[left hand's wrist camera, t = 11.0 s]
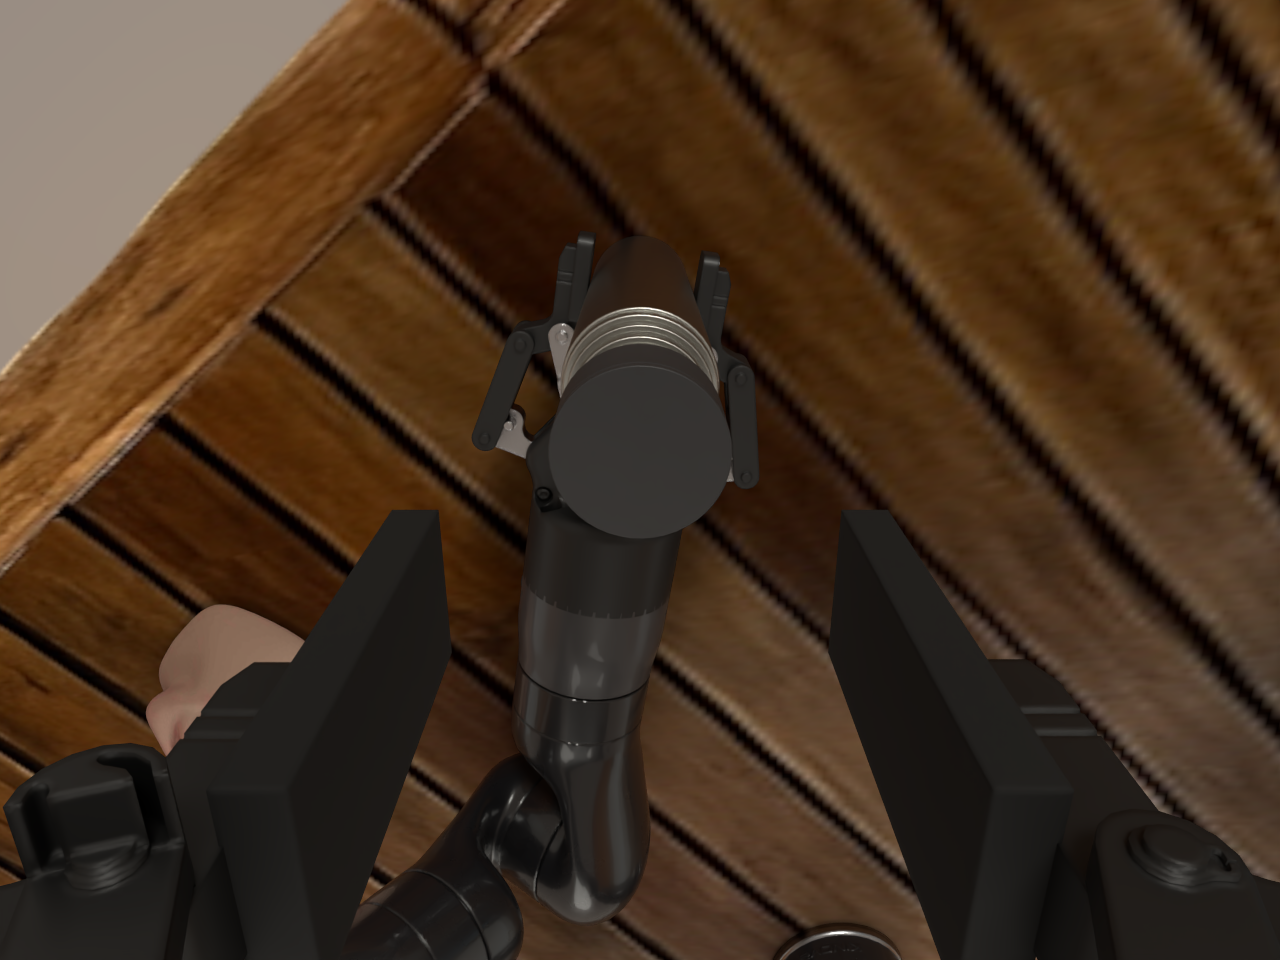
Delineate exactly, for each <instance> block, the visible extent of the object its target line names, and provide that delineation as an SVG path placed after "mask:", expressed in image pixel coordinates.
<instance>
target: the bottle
mask: <svg viewBox="0 0 1280 960" xmlns="http://www.w3.org/2000/svg"><path fill="white" fill-rule="evenodd" d="M631 344H650V345H656V346H661V347H665V348H668V349H671V350H673V351H676V352H678V353H680V354H682V355H684V356H685V357H687V358H688V359H690V360H691V361H693V362H694V363H695V364H696V365H697V366H699V367H700V368H701V369H702V371H703V372H704V373H705V374H706V375H707V376H708V378H709V379H710V380H711V382H712V383H713V385H714V387H715V389H716V391H717V393H718V395H719V387H720V380H719V371H718V366H717V362H716V359H715V356H714V353H713V350H712V347H711V344H710V341H709V339H708V336H707V333H706V330H705V327H704V324H703V321H702V318H701V315H700V312H699V309H698V306H697V303H696V301H695V298H694V295H693V292H692V289H691V286H690V283H689V280H688V277H687V274H686V271H685V268H684V265H683V263H682V261H681V259H680V258H679V256H678V255H677V253H676V252H675V251H674V250H673V249H672V248H671V247H670V246H668V245H667V244H666V243H664V242H662V241H660V240H658V239H656V238H653V237H648V236H632V237H627V238H624V239H622V240H620V241H618V242H616V243H614V244H613V245H612V246H610V247H609V248H608V249H607V250H606V251H605V252H604V254H603V255H602V256H601V258H600V259H599V261H598V263H597V266H596V268H595V271H594V274H593V277H592V280H591V283H590V286H589V289H588V292H587V295H586V298H585V301H584V304H583V306H582V309H581V312H580V315H579V318H578V321H577V324H576V327H575V330H574V333H573V336H572V339H571V342H570V345H569V348H568V351H567V354H566V357H565V360H564V363H563V367H562V373H561V394H563V392H564V390H565V388H566V386H567V384H568V383H569V381H570V379H571V378H572V377H573V376H574V374H575V373H576V372H577V371H578V370H579V369H580V368H581V367H582V366H583V365H584V364H585V363H586V362H588V361H589V360H591V359H592V358H594V357H595V356H597V355H599V354H601V353H603V352H604V351H607V350H610V349H612V348H615V347H619V346H624V345H631Z"/></svg>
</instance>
